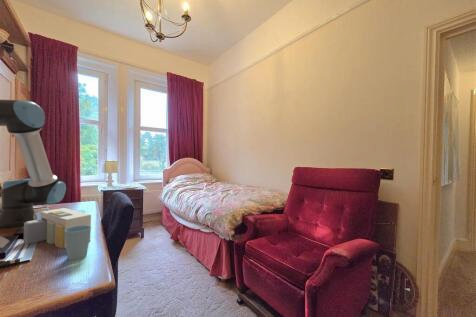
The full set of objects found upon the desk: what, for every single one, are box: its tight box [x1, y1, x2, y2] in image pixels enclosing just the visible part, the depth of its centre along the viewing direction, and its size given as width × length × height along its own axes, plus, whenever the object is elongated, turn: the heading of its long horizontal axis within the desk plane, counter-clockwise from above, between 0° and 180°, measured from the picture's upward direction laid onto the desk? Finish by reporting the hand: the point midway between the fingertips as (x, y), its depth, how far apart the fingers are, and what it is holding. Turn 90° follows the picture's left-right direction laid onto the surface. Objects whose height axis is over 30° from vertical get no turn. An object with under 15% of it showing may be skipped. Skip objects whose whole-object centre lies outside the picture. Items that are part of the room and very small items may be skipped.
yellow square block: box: [54, 224, 65, 249], centre depth 90 cm, size 8×4×8 cm, turn 151°
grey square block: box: [23, 219, 47, 245], centre depth 93 cm, size 8×4×8 cm, turn 151°
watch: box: [33, 207, 52, 220], centre depth 105 cm, size 6×8×11 cm
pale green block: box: [46, 221, 55, 245], centre depth 94 cm, size 8×4×8 cm, turn 151°
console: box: [40, 207, 92, 249], centre depth 95 cm, size 9×22×12 cm, turn 61°
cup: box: [65, 225, 92, 261], centre depth 79 cm, size 8×8×10 cm
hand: (5, 244), depth 79 cm, fingers closed
